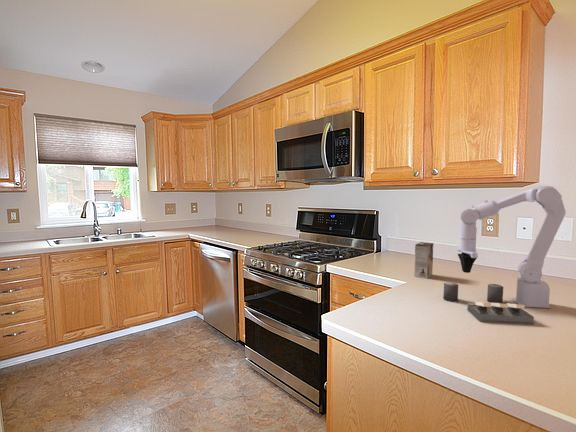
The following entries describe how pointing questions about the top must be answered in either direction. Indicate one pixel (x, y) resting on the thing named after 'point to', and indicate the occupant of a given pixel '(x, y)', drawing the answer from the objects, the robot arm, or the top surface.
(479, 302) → the paddle
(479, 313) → the panel
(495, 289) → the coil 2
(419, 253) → the coffee box
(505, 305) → the paddle mid
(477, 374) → the top surface
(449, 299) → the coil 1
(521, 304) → the paddle
